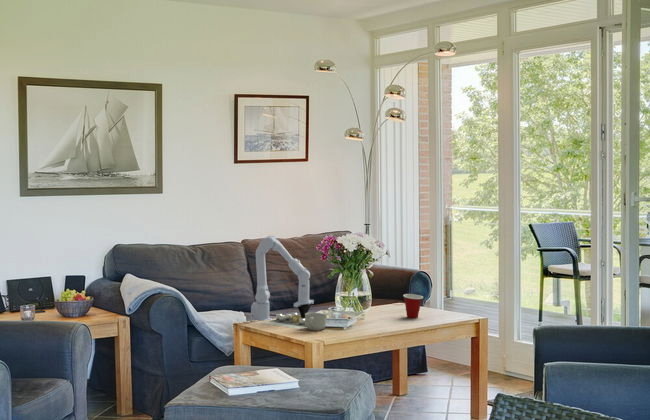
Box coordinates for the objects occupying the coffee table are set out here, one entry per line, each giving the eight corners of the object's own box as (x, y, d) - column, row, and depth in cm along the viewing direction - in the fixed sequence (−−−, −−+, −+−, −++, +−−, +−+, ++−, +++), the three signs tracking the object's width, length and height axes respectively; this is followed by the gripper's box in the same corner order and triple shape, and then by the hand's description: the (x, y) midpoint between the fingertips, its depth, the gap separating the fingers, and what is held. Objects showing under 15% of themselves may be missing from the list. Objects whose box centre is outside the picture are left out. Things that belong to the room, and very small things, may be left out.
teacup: (311, 327, 430) (311, 311, 430) (330, 329, 425) (330, 313, 425) (297, 331, 418) (297, 315, 418) (317, 334, 413) (317, 317, 413)
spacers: (272, 320, 444) (272, 314, 444) (287, 317, 454) (287, 311, 454) (308, 326, 430) (308, 320, 429) (323, 322, 440) (324, 316, 440)
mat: (261, 323, 437) (261, 322, 437) (286, 318, 453) (286, 317, 453) (298, 329, 423) (298, 328, 423) (322, 323, 439) (322, 323, 439)
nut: (290, 322, 440) (290, 316, 440) (293, 320, 444) (293, 315, 444) (299, 323, 438) (299, 317, 438) (302, 321, 442) (302, 315, 442)
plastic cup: (416, 320, 453) (416, 297, 453) (398, 317, 460) (399, 295, 459) (426, 317, 462) (427, 295, 461) (409, 314, 469) (409, 293, 468)
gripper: (301, 295, 437) (301, 321, 437) (318, 292, 448) (318, 318, 449) (290, 294, 441) (290, 320, 442) (307, 291, 453) (307, 316, 453)
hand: (303, 319), depth 446 cm, fingers closed
